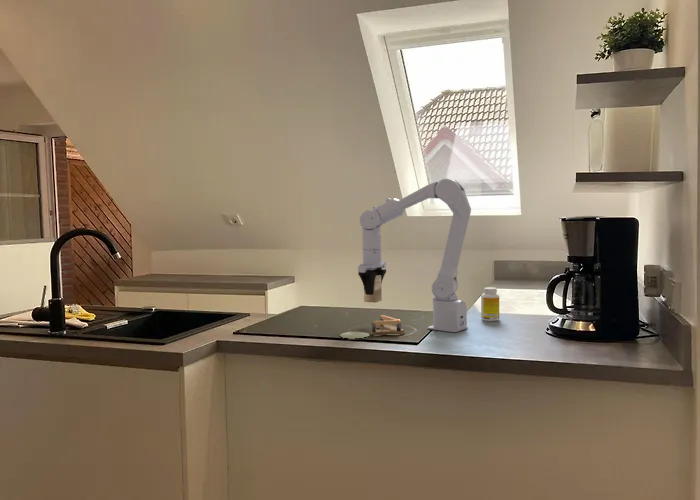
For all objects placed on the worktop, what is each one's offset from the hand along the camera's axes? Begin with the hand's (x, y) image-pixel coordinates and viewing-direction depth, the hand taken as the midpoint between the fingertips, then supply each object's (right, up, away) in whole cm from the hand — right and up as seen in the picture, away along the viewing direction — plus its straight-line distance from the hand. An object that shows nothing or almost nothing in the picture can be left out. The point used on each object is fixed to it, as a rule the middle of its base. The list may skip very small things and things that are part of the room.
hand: (372, 293), depth 180 cm
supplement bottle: (+37, -9, +5) cm, 39 cm away
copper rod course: (+3, -11, -10) cm, 15 cm away
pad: (-6, -11, -14) cm, 19 cm away
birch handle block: (0, -2, 0) cm, 2 cm away
